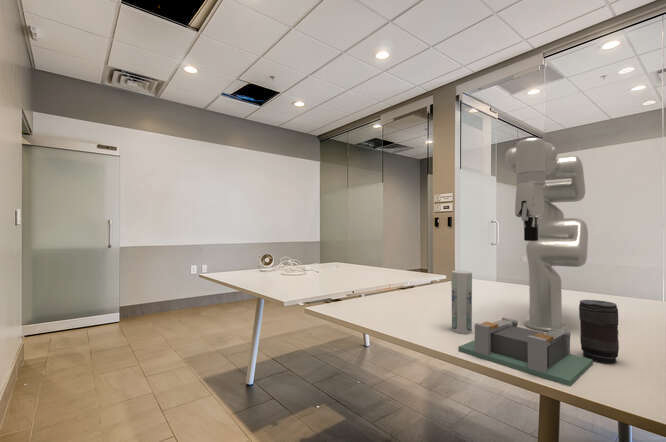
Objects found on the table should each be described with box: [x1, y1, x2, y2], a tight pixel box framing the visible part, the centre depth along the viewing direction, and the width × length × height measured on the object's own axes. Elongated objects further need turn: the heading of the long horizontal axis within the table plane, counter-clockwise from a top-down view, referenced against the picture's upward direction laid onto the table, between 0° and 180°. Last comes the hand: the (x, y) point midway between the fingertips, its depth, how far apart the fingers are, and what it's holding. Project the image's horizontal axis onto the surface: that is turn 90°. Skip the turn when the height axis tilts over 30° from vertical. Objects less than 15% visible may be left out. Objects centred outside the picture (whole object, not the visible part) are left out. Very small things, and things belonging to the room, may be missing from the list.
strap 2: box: [534, 330, 566, 347], centre depth 81 cm, size 14×3×2 cm, turn 129°
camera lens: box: [578, 299, 620, 365], centre depth 86 cm, size 8×8×15 cm
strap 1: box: [479, 318, 513, 333], centre depth 91 cm, size 14×3×2 cm, turn 129°
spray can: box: [450, 270, 473, 335], centre depth 109 cm, size 6×6×20 cm
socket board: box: [457, 317, 594, 387], centre depth 86 cm, size 19×26×9 cm
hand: (531, 240), depth 96 cm, fingers closed
